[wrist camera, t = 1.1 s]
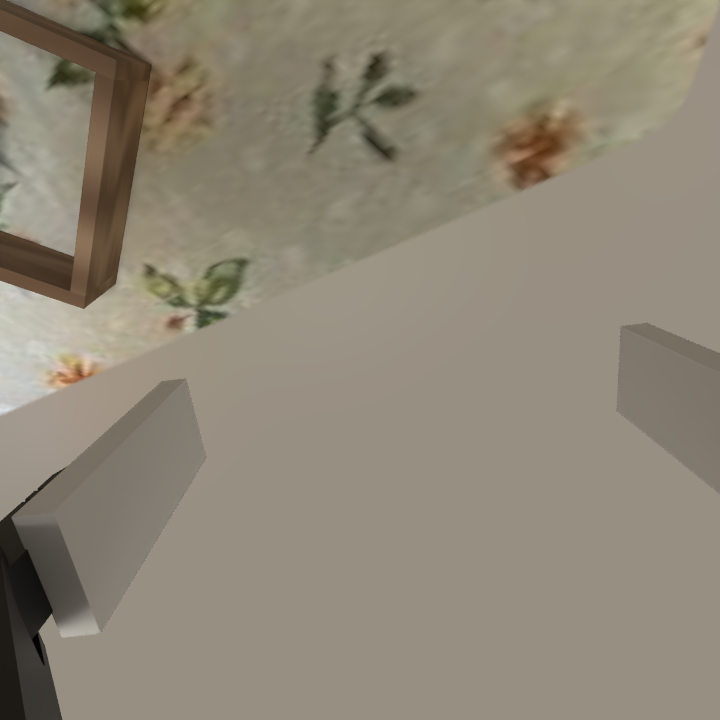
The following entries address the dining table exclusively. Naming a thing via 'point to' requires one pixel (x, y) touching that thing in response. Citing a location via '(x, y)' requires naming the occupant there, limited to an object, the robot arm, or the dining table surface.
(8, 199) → the dining table surface
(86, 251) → the rectangular frame
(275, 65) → the dining table surface
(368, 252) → the dining table surface
